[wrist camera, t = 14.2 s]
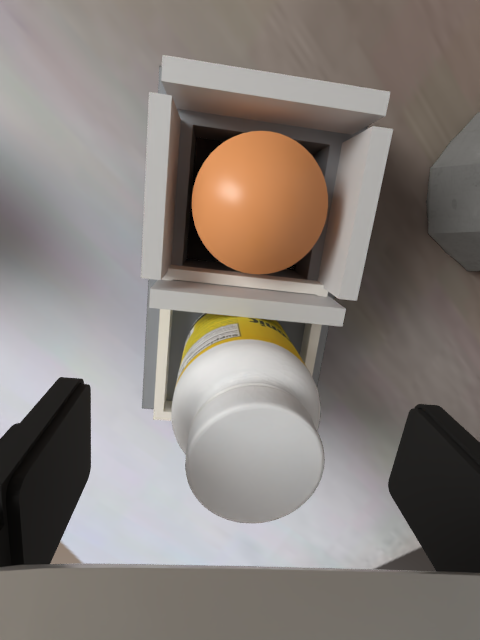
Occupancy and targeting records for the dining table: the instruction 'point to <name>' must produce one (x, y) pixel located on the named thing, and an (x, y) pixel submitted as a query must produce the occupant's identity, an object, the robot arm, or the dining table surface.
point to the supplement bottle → (247, 419)
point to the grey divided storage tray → (175, 203)
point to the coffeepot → (457, 197)
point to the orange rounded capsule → (259, 202)
